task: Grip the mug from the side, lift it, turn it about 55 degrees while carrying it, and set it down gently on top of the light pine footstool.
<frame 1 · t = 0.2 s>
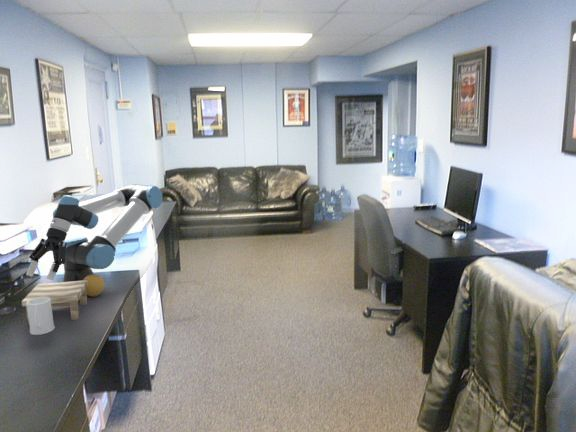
hand: (39, 277, 192), 15 cm above the table, tool tilted 35°, fingers open, 13 cm apart
footstool: (59, 312, 193), on the table
stress ball: (94, 296, 212), on the table
mug: (41, 332, 175), on the table
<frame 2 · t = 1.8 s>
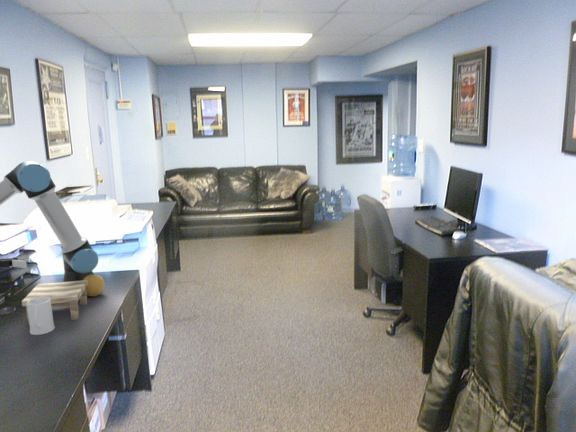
hand: (10, 269, 174), 24 cm above the table, tool horizontal, fingers open, 13 cm apart
nothing on the table moved.
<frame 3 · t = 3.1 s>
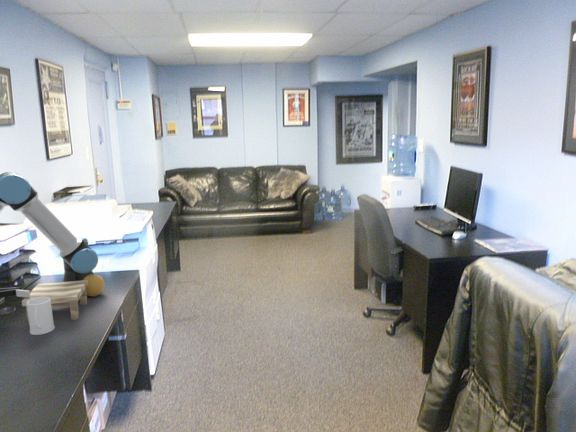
hand: (14, 300, 176), 11 cm above the table, tool horizontal, fingers open, 13 cm apart
nothing on the table moved.
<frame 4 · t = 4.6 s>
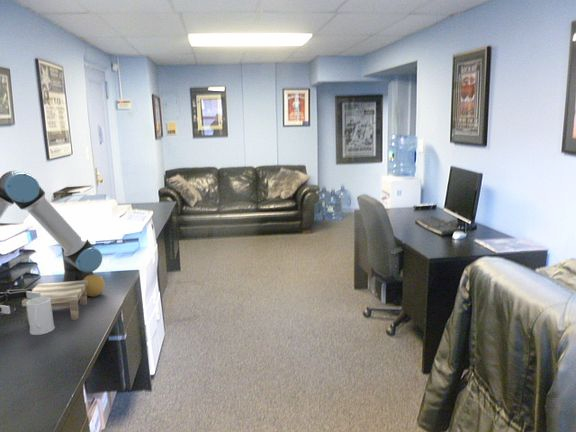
hand: (25, 302, 174), 11 cm above the table, tool horizontal, fingers open, 13 cm apart
nothing on the table moved.
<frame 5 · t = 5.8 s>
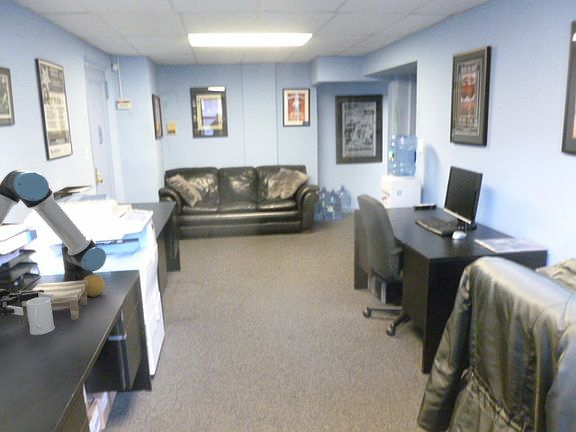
hand: (38, 304, 172), 11 cm above the table, tool horizontal, fingers open, 13 cm apart
nothing on the table moved.
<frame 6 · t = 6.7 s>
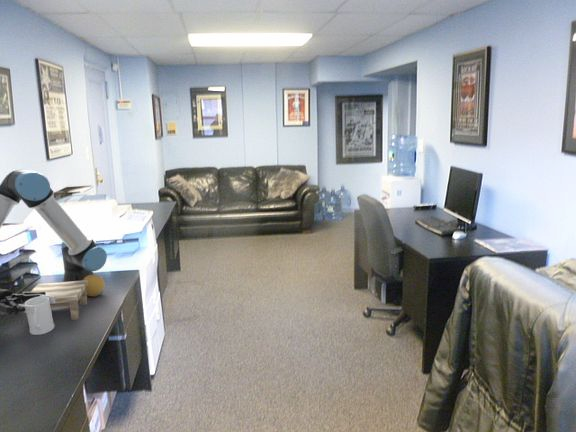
hand: (44, 304, 172), 11 cm above the table, tool horizontal, fingers closed on mug, 9 cm apart
mug: (41, 331, 175), on the table, touching gripper
everything else where it was.
when the fingers open (22 cm above the table, at t = 12.2 s): mug drops 1 cm, resting on footstool.
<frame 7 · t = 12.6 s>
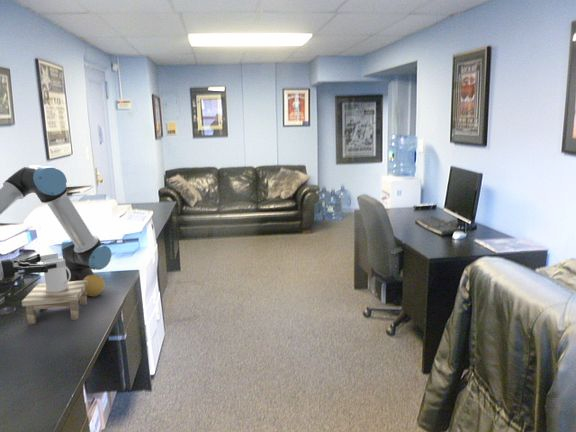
hand: (61, 259, 190), 22 cm above the table, tool horizontal, fingers open, 13 cm apart
mug: (60, 289, 192), point 10 cm above the table, touching footstool
everything else where it was.
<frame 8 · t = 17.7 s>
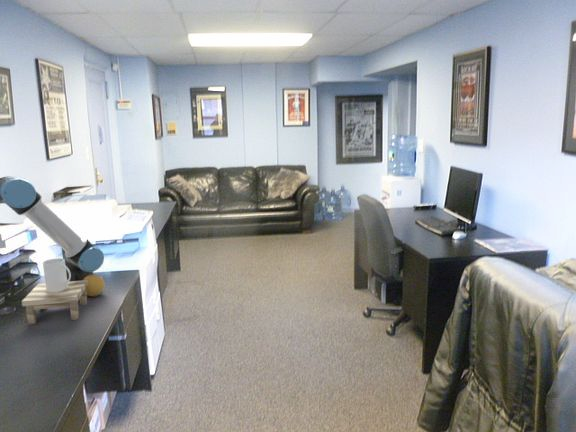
hand: (3, 240, 185), 32 cm above the table, tool horizontal, fingers open, 13 cm apart
nothing on the table moved.
at the end: mug inside the target area on the footstool (1.5 cm from its centre), point 9.8 cm above the footstool's base; mug tilted 0°; the gripper is holding nothing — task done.
